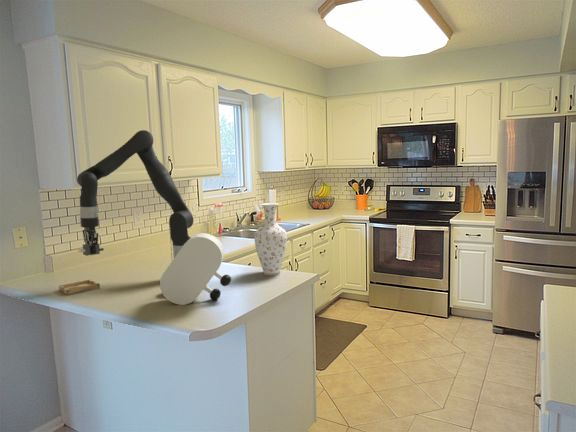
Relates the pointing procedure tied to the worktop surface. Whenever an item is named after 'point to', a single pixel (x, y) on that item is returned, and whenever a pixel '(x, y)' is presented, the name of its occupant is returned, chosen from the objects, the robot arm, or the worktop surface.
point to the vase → (270, 242)
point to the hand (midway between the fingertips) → (91, 253)
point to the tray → (79, 287)
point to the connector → (87, 249)
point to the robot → (194, 270)
